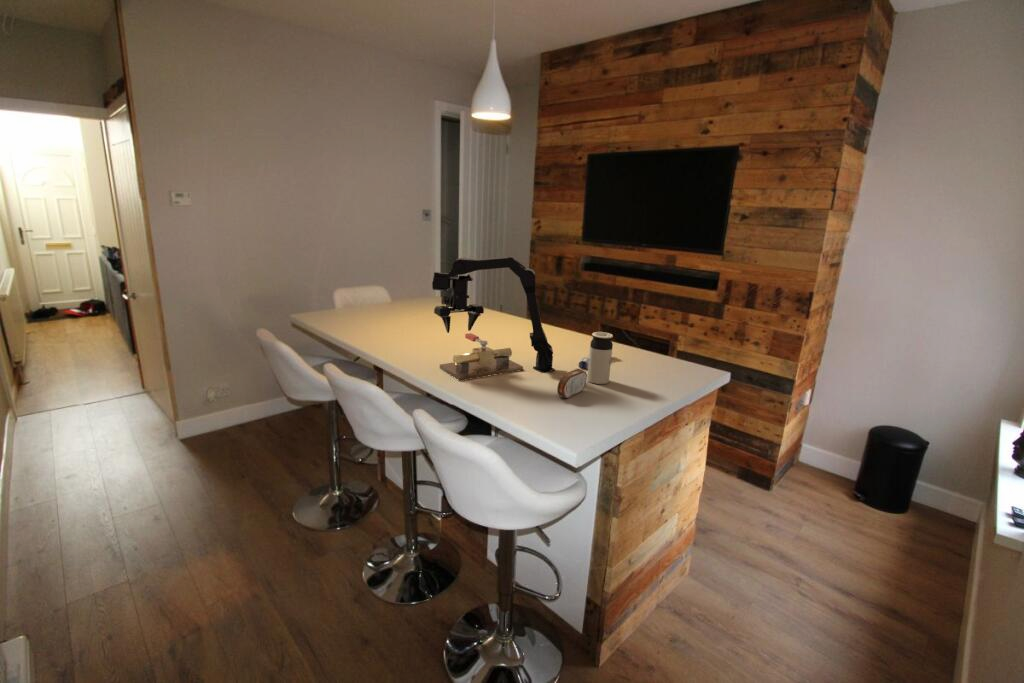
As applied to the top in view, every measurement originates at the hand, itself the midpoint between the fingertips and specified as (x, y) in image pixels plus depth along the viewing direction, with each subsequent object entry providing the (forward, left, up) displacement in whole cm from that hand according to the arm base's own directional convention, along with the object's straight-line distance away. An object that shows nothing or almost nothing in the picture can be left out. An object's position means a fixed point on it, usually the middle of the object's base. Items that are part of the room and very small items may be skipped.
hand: (458, 331), depth 187 cm
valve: (-10, -6, -14) cm, 18 cm away
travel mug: (-40, -38, -14) cm, 56 cm away
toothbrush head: (-22, -54, -14) cm, 60 cm away
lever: (-4, -6, -4) cm, 8 cm away
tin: (-46, -20, -14) cm, 52 cm away
